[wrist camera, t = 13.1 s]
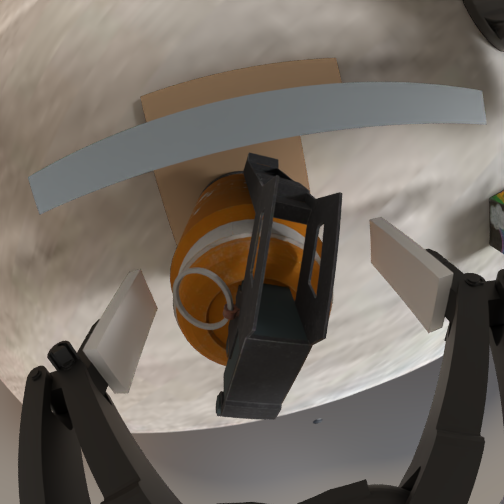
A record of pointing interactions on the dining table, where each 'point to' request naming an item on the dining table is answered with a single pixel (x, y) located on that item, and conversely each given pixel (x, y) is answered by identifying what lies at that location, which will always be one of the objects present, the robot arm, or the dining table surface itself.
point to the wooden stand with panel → (243, 129)
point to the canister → (256, 282)
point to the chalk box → (497, 221)
